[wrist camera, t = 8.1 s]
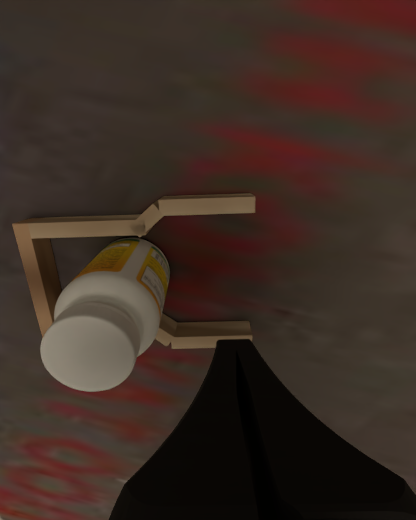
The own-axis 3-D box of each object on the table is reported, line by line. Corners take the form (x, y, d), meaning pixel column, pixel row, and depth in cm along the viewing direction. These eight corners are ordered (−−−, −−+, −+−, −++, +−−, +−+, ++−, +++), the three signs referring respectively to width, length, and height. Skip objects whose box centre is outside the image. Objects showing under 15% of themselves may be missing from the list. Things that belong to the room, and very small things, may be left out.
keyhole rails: (248, 331, 23) (252, 346, 21) (59, 336, 23) (46, 351, 21) (250, 193, 19) (255, 196, 17) (26, 200, 19) (7, 205, 18)
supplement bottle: (182, 254, 21) (173, 332, 12) (152, 311, 22) (125, 418, 13) (112, 222, 20) (43, 281, 11) (86, 284, 21) (8, 381, 12)
